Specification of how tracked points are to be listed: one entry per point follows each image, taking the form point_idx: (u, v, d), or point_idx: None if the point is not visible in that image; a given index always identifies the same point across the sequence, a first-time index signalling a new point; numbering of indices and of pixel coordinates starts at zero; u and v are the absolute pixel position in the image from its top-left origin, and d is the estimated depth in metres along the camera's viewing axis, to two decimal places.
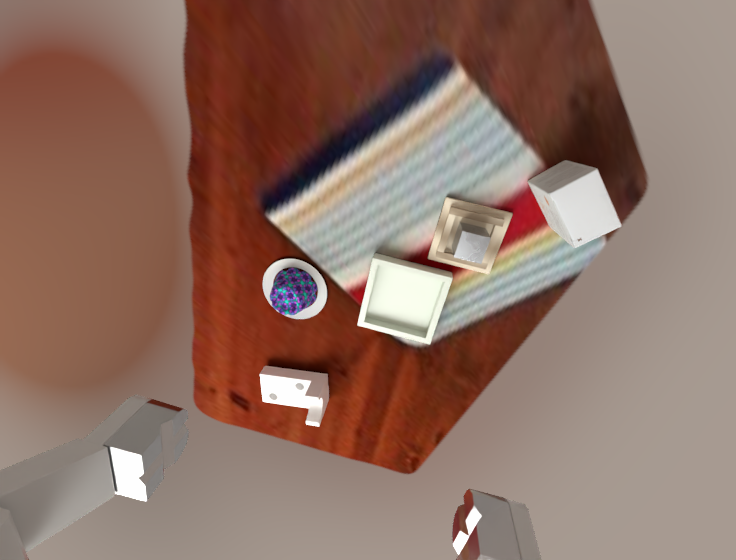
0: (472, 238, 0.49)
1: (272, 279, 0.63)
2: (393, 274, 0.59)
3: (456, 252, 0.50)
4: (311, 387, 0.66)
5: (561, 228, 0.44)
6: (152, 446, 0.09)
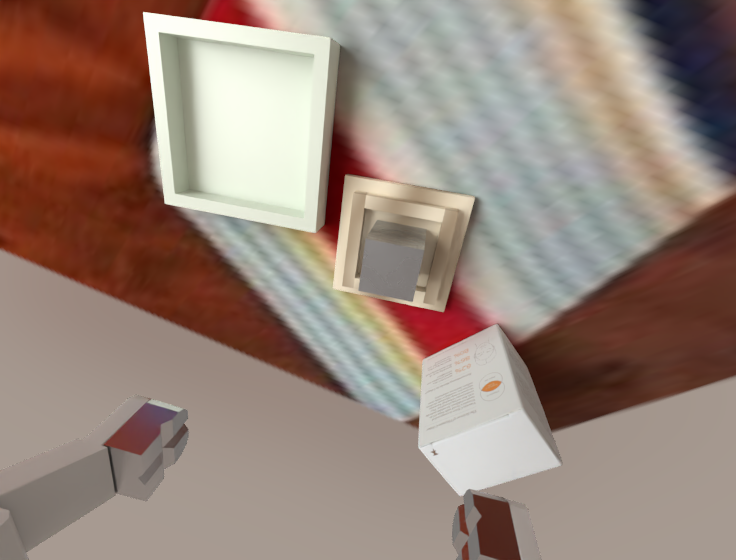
0: (409, 270, 0.24)
1: None
2: (297, 100, 0.26)
3: (376, 243, 0.24)
4: None
5: (445, 415, 0.26)
6: (152, 446, 0.09)
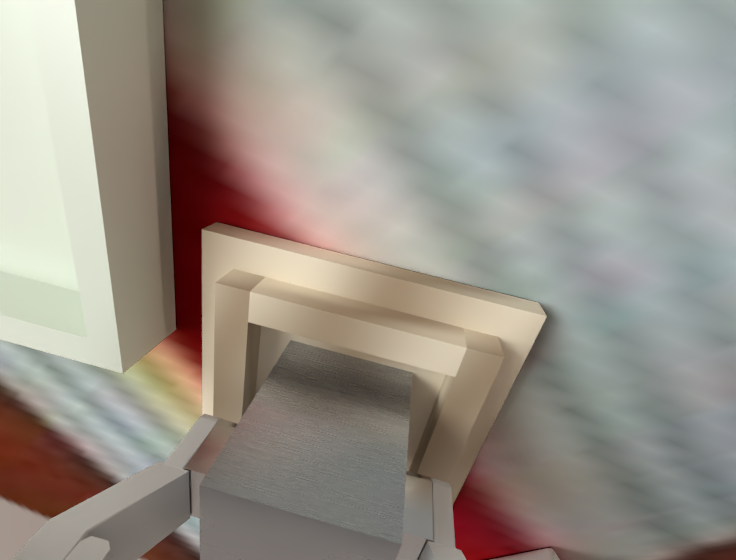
0: None
1: None
2: None
3: (238, 500, 0.07)
4: None
5: None
6: None
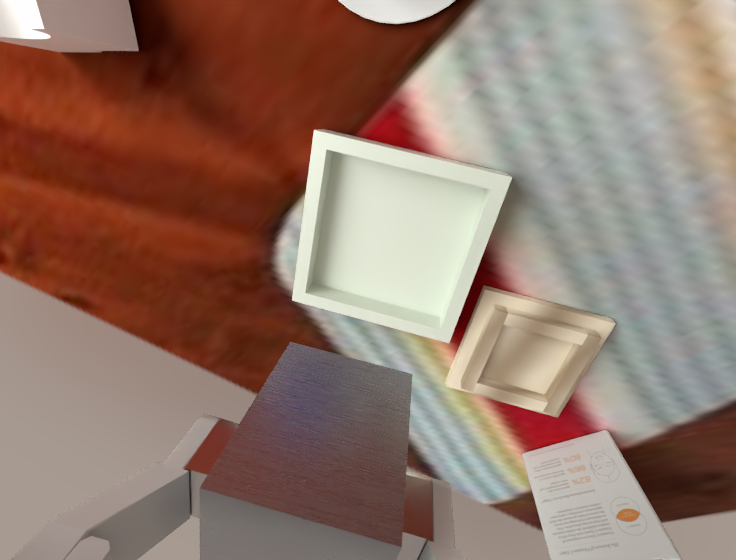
0: None
1: None
2: (449, 218, 0.26)
3: (238, 503, 0.07)
4: None
5: (578, 539, 0.26)
6: None
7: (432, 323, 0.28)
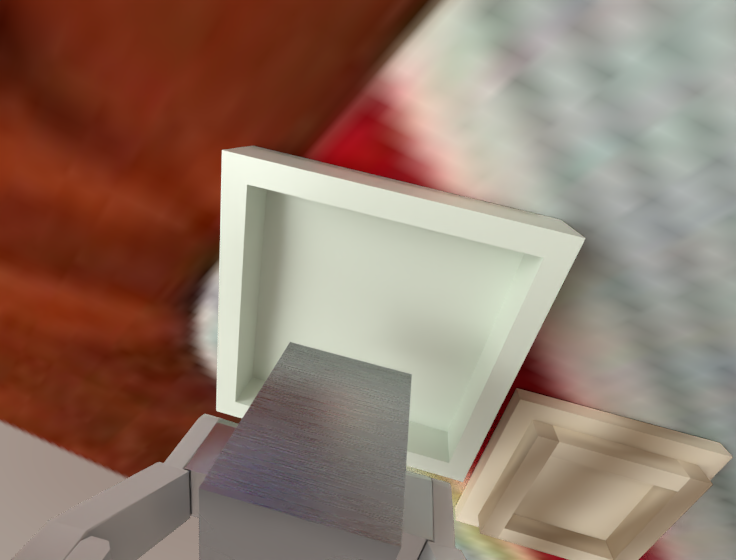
0: None
1: None
2: (464, 292, 0.15)
3: (237, 503, 0.07)
4: None
5: None
6: None
7: (436, 449, 0.18)
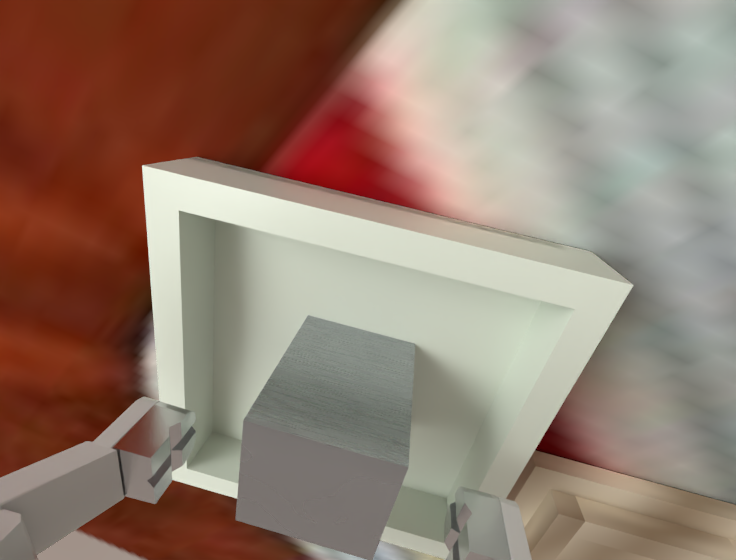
0: (365, 502, 0.09)
1: None
2: (467, 340, 0.12)
3: (274, 433, 0.08)
4: None
5: None
6: (161, 449, 0.09)
7: (433, 524, 0.14)
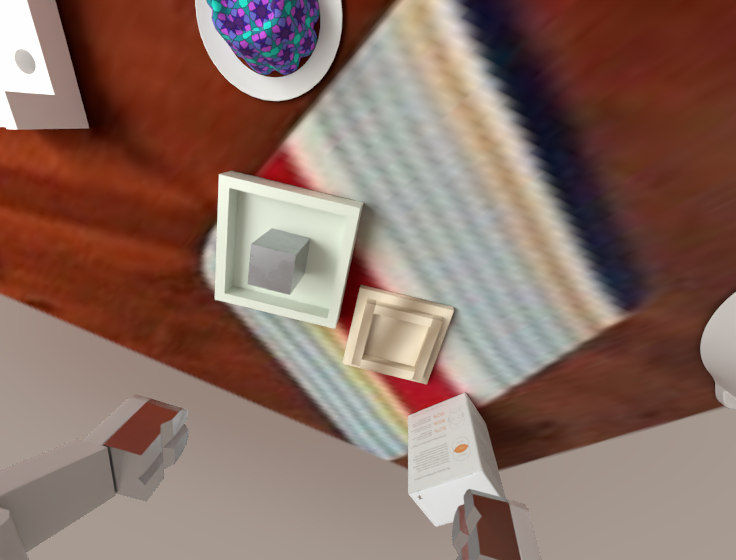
0: (285, 269, 0.31)
1: None
2: (328, 235, 0.35)
3: (259, 247, 0.31)
4: (37, 101, 0.28)
5: (427, 468, 0.35)
6: (152, 446, 0.09)
7: (322, 314, 0.37)
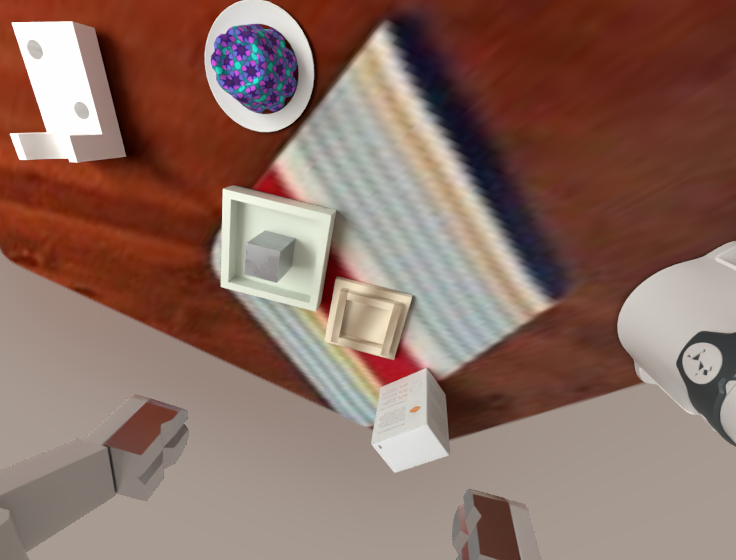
0: (273, 263, 0.40)
1: (260, 19, 0.35)
2: (309, 236, 0.43)
3: (252, 245, 0.40)
4: (90, 140, 0.38)
5: (388, 425, 0.44)
6: (152, 446, 0.09)
7: (306, 299, 0.46)
